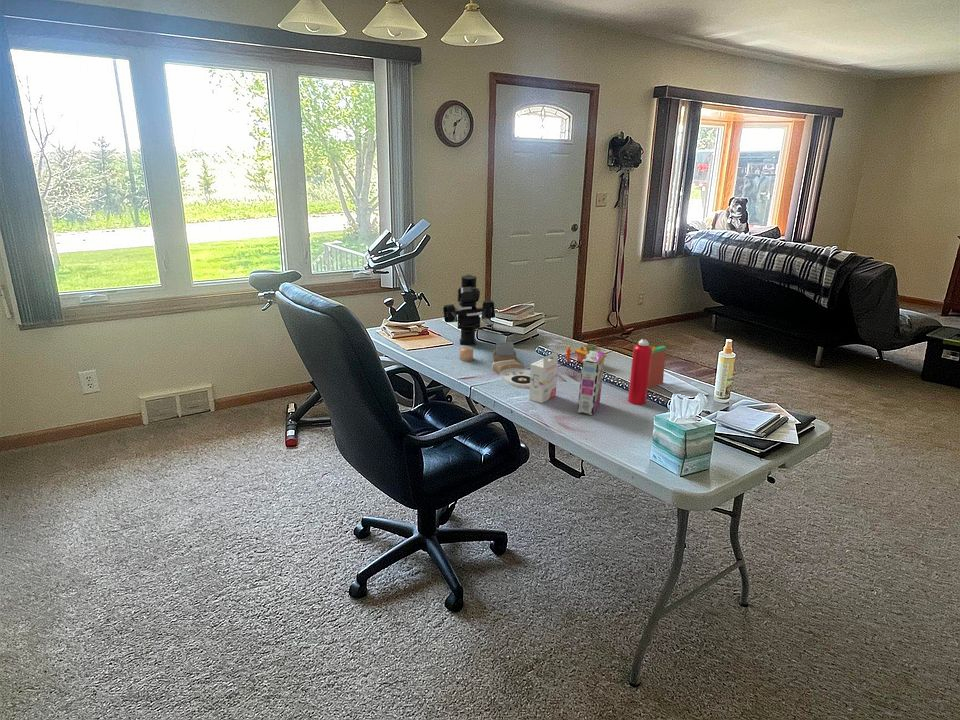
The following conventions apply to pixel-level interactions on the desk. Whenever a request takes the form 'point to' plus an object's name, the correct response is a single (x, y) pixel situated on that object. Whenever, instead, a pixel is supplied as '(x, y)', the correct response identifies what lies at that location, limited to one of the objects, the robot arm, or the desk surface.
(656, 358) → the toy building block set
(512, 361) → the record player
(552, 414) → the desk surface
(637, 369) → the bottle
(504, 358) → the walnut block
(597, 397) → the candy bar box
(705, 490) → the desk surface
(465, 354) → the clay cylinder
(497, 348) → the slate block
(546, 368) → the ink cartridge box
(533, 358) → the desk surface
